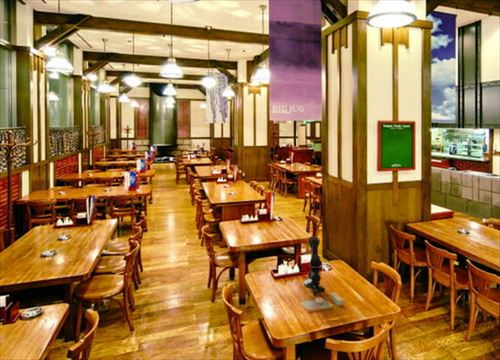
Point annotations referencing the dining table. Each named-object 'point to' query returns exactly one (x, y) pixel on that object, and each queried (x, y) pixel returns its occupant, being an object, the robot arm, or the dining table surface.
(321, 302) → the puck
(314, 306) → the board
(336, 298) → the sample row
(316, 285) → the robot arm
